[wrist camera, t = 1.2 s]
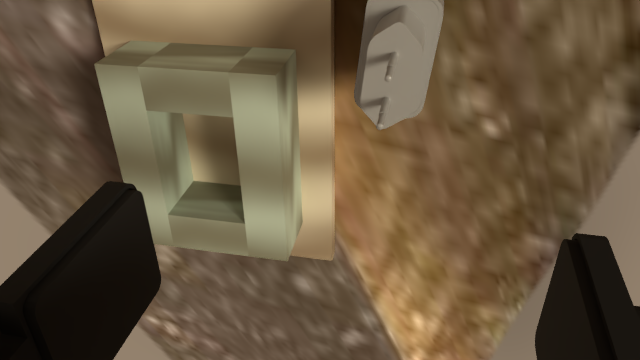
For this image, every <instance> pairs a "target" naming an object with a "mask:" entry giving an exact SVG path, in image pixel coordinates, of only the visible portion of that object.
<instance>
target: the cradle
mask: <svg viewBox="0 0 640 360" xmlns="http://www.w3.org/2000/svg"><path fill="white" fill-rule="evenodd" d="M92 2H93V7H94V11H95V15H96V19H97V24H98V28H99V32H100V36H101V41H102V45H103V49H104V54H105V57H104V58H103V59H101V60H100V61H98V62H96V63H95V64H94V65H95V69H96V73H97V77H98V81H99V85H100V89H101V93H102V98H103V102H104V106H105V110H106V114H107V118H108V122H109V126H110V130H111V134H112V138H113V142H114V146H115V150H116V154H117V158H118V162H119V166H120V170H121V174H122V178H123V182H124V183H130V184H133V185H134V186H135V187H136V189H137V190H138V191H141V193H142V195H143V198H144V202H145V207H146V211H147V216H148V220H149V225H150V229H151V234H152V238H153V243H154V244H158V245H166V246H174V247H181V248H189V249H197V250H205V251H212V252H220V253H228V254H236V255H243V256H251V257H259V258H267V259H274V260H282V261H288V259H289V256H290V255H291V256H299V257H307V258H315V259H323V260H331V261H332V259H333V256H334V252H335V164H334V0H92Z"/></svg>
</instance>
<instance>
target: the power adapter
mask: <svg viewBox="0 0 640 360" xmlns="http://www.w3.org/2000/svg"><path fill="white" fill-rule="evenodd" d="M443 9H444V0H368V2H367V6H366V12H365V19H364V26H363V33H362V40H361V47H360V55H359V62H358V69H357V76H356V83H355V90H354V98H355V102H356V104H357V105H358V106H359V107H360V108H361V109H362V110H363V111H364V112H365V114H366V115H367V116H368V117H369V118H370V119H371V120H372V121H373V122H374V124H375V125H376V128H377V129H378V130H381V129H385V128H388V127H390V126H392V125H393V124H395V123H397V122H399V121H401V120H403V119H405V118H411V117H414V116H416V115H418V114H419V113H420V111H421V110H422V108H423V105H424V102H425V97H426V93H427V88H428V84H429V79H430V74H431V70H432V65H433V61H434V56H435V52H436V47H437V43H438V38H439V34H440V29H441V24H442V20H443Z"/></svg>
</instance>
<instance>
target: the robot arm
mask: <svg viewBox="0 0 640 360" xmlns="http://www.w3.org/2000/svg"><path fill="white" fill-rule="evenodd" d="M160 284H161V274H160V270H159V265H158V261H157V256H156V252H155V247H154V243H153V238H152V234H151V229H150V225H149V220H148V216H147V211H146V207H145V202H144V198H143V195H142V193H141V191H138V190H137V189H136V187H135V186H134V185H133V184H130V183H121V182H112V181H109V182H106V183H105V184H104V185H103V186H102V187H101V188H100V189H99V190H98V191H97V192H96V193H95V194H94V195H93V196H92V197H90V198H89V199H88V200H87V201H86V202H85V203H84V204H83V205H82V206H81V207H80V208H79V209H78V210H77V211H76V212H75V213H74V214H73V215H72V216H71V217H70V218H69V219H68V220H67V221H66V222H65V223H64V224H63V225H62V226H61V227H60V228H59V229H58V230H57V231H56V232H55V233H54V234H53V235H52V236H51V237H50V238H49V239H48V240H47V241H46V242H45V243H43V244H42V245H41V246H40V247H39V248H38V249H37V250H36V251H35V252H34V253H33V254H32V255H31V256H30V257H29V258H28V259H27V260H26V261H25V262H24V263H23V264H22V265H21V266H20V267H19V268H18V269H17V270H16V271H15V272H14V273H13V274H12V275H11V276H10V277H9V278H8V279H7V280H6V281H5V282H4V283H3V284H2V285H1V286H0V360H113V359H114V357H115V356H116V354H117V353H118V351H119V350H120V348H121V347H122V345H123V344H124V342H125V340H126V339H127V337H128V336H129V335H130V333H131V331H132V329H133V328H134V327H135V325H136V324H137V322H138V321H139V319H140V318H141V316H142V315H143V313H144V312H145V310H146V309H147V307H148V306H149V304H150V303H151V301H152V300H153V298H154V297H155V295H156V294H157V292H158V290H159V288H160ZM535 348H536V355H537V360H640V307H639V306H633V303H632V301H631V298H630V295H629V293H628V290H627V288H626V285H625V282H624V280H623V277H622V274H621V272H620V269H619V267H618V264H617V262H616V259H615V256H614V254H613V251H612V248H611V246H610V243H609V241H608V239H607V238H606V237H605V236H595V235H587V234H578V233H576V234H574V236H573V237H572V240H568V239H564V240H563V241H562V243H561V246H560V250H559V253H558V257H557V260H556V264H555V267H554V271H553V274H552V278H551V281H550V285H549V288H548V292H547V295H546V299H545V302H544V305H543V309H542V312H541V316H540V319H539V323H538V326H537V330H536V336H535Z"/></svg>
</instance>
